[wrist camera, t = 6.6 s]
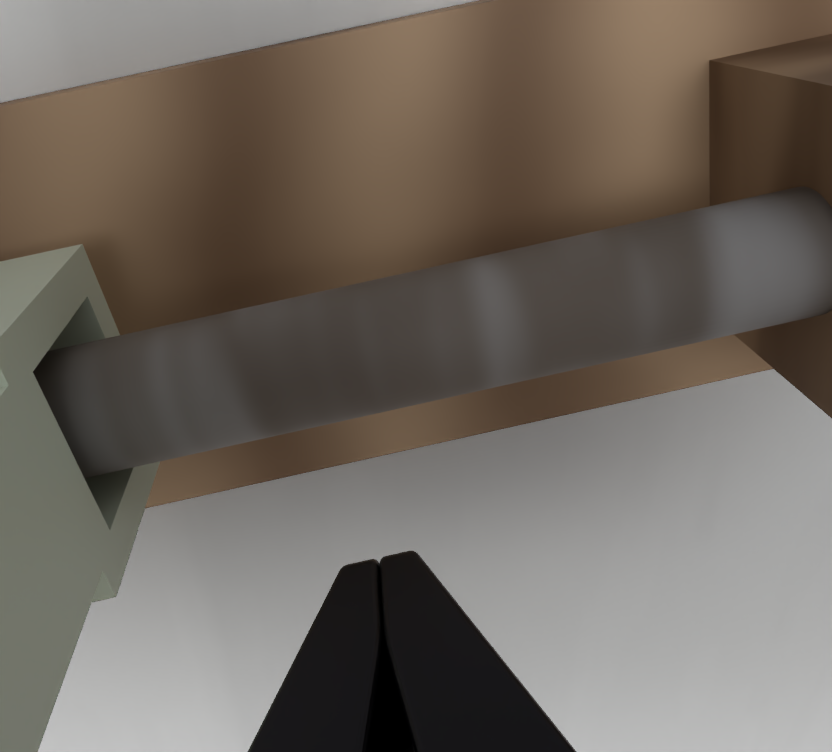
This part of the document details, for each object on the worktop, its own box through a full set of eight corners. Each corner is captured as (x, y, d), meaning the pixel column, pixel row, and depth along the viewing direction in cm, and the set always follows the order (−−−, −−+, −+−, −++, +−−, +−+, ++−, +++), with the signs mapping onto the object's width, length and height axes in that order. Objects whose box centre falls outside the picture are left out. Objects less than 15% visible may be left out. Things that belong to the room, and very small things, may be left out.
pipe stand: (870, -84, 16) (1170, -117, 11) (834, 334, 21) (1029, 467, 15) (-483, 206, 16) (-937, 335, 10) (-209, 565, 21) (-412, 792, 15)
